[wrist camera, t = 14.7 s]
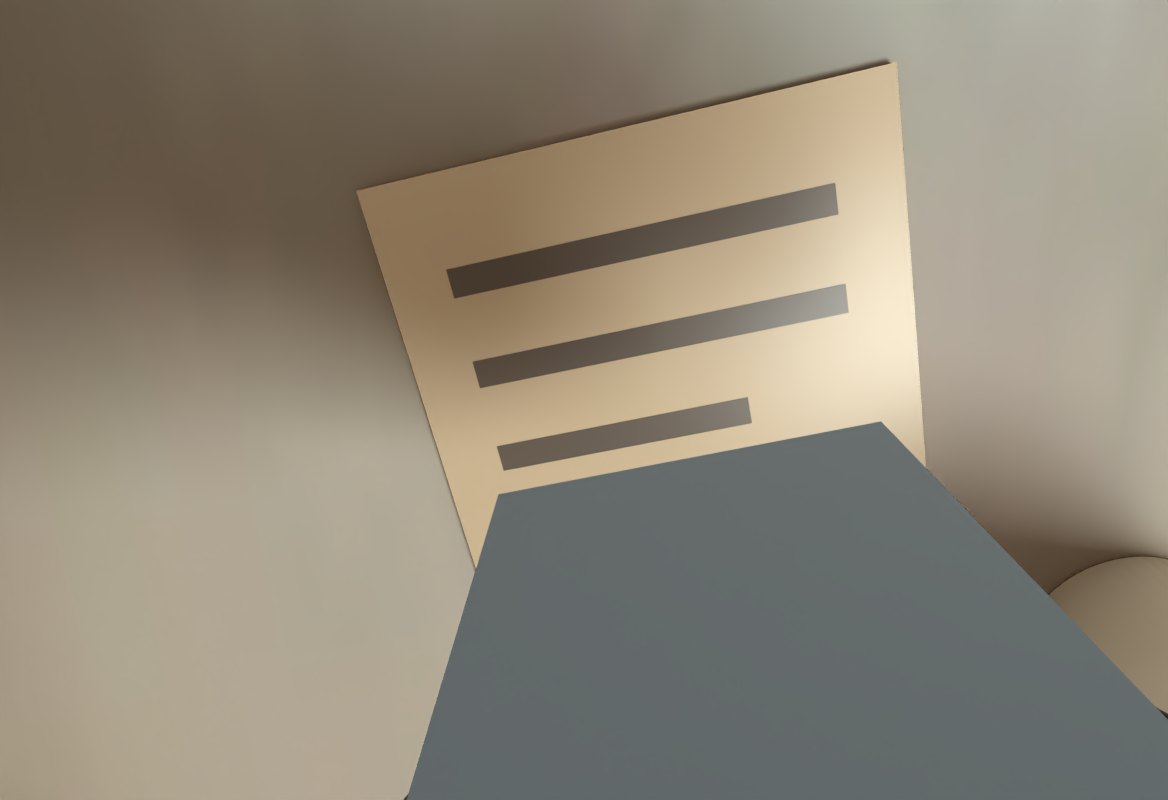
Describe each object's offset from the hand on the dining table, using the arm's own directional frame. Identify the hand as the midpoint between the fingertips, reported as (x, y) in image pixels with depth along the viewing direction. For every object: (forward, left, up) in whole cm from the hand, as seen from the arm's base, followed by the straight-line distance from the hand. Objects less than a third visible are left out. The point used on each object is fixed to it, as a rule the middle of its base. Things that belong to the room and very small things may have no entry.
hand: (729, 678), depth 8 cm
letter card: (0, 0, -10) cm, 11 cm away
